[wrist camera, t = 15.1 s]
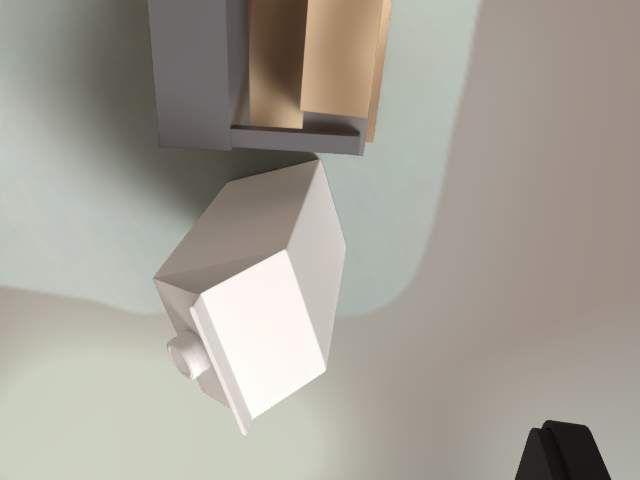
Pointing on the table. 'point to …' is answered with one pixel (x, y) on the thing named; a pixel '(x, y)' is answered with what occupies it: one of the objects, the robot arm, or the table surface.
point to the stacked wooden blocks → (317, 64)
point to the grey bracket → (216, 83)
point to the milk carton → (256, 289)
